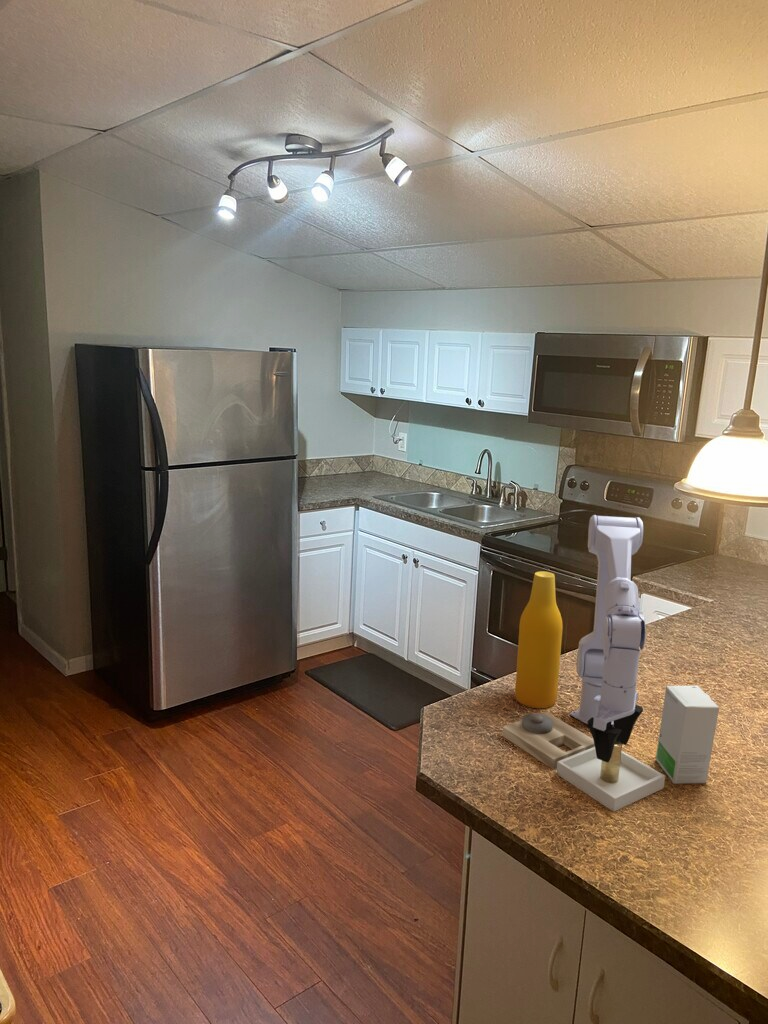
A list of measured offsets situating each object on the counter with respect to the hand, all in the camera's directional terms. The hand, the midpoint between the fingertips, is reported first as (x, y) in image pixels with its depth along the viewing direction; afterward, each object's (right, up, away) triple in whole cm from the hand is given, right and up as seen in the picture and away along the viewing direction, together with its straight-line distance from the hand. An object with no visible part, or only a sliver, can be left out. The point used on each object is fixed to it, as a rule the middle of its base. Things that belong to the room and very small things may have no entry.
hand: (612, 750), depth 133 cm
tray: (0, -6, +1) cm, 6 cm away
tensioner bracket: (-8, -3, +13) cm, 16 cm away
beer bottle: (-7, +1, +32) cm, 32 cm away
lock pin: (0, -5, +1) cm, 5 cm away
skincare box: (+14, -6, +5) cm, 16 cm away
